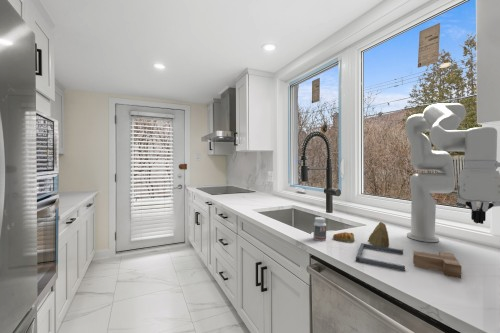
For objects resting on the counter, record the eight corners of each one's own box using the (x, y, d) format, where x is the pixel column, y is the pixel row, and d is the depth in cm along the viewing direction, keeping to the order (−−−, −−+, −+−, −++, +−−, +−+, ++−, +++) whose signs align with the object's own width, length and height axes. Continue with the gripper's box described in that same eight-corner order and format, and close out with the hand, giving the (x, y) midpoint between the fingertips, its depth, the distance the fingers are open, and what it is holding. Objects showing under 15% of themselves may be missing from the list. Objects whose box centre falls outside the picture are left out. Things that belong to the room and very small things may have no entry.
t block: (412, 258, 92) (412, 247, 92) (452, 265, 86) (453, 253, 86) (415, 269, 82) (415, 258, 82) (461, 278, 76) (461, 266, 76)
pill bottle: (328, 240, 112) (329, 219, 112) (317, 241, 110) (318, 220, 110) (321, 237, 117) (321, 216, 117) (311, 237, 116) (311, 217, 115)
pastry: (333, 241, 111) (333, 233, 111) (332, 237, 118) (332, 229, 118) (355, 243, 109) (355, 235, 109) (352, 239, 116) (353, 231, 116)
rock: (396, 246, 98) (395, 236, 107) (382, 228, 100) (382, 220, 108) (372, 257, 103) (373, 247, 112) (359, 240, 105) (360, 231, 113)
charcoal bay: (361, 246, 104) (361, 243, 104) (402, 253, 97) (402, 249, 97) (355, 261, 89) (355, 257, 88) (405, 271, 81) (405, 266, 81)
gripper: (507, 166, 78) (505, 223, 78) (447, 165, 85) (446, 217, 85) (518, 166, 71) (516, 228, 71) (452, 165, 79) (450, 222, 79)
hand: (478, 222), depth 78 cm, fingers closed
